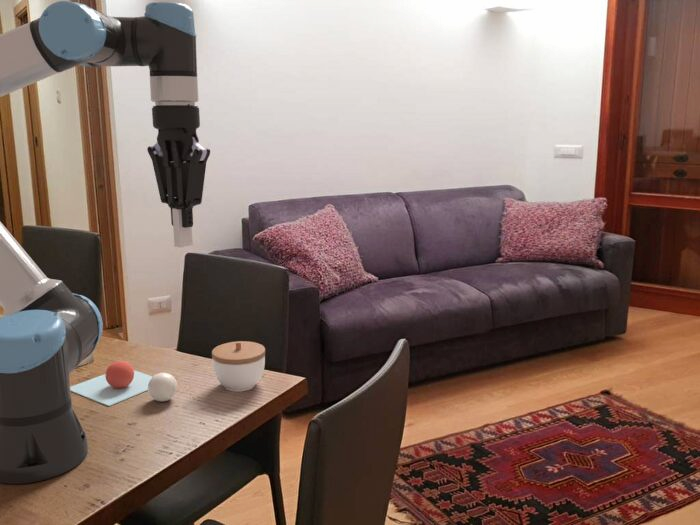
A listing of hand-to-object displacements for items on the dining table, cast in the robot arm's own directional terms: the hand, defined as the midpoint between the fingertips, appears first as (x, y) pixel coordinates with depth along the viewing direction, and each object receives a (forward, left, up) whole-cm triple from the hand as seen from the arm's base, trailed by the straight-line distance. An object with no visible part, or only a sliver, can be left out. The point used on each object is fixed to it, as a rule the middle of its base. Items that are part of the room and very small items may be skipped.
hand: (183, 245), depth 114 cm
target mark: (+6, +24, -32) cm, 41 cm away
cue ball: (+4, +11, -30) cm, 32 cm away
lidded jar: (+16, +1, -33) cm, 37 cm away
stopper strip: (+9, +40, -32) cm, 53 cm away
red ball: (+6, +23, -30) cm, 38 cm away
